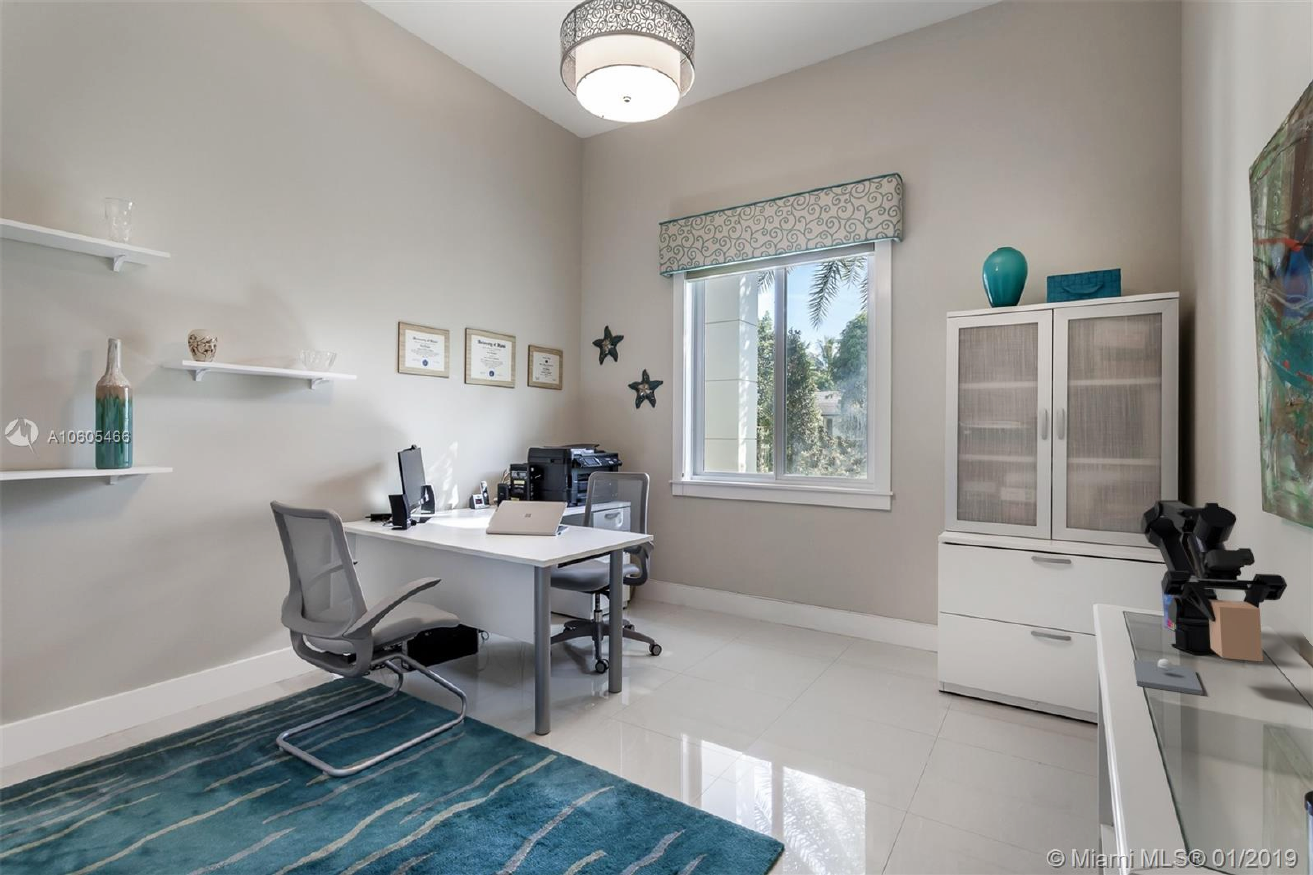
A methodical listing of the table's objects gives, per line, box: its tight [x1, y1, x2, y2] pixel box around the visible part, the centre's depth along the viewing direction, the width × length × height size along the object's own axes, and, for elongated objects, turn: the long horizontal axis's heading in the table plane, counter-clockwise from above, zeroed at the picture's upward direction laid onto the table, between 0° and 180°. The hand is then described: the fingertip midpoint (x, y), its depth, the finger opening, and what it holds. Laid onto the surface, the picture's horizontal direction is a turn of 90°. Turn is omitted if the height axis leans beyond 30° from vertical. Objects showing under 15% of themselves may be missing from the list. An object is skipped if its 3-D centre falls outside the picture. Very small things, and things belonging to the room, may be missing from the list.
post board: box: [1133, 658, 1203, 696], centre depth 128 cm, size 14×10×4 cm
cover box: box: [1209, 599, 1264, 662], centre depth 122 cm, size 6×6×10 cm
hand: (1234, 621), depth 122 cm, fingers closed on cover box, 6 cm apart
